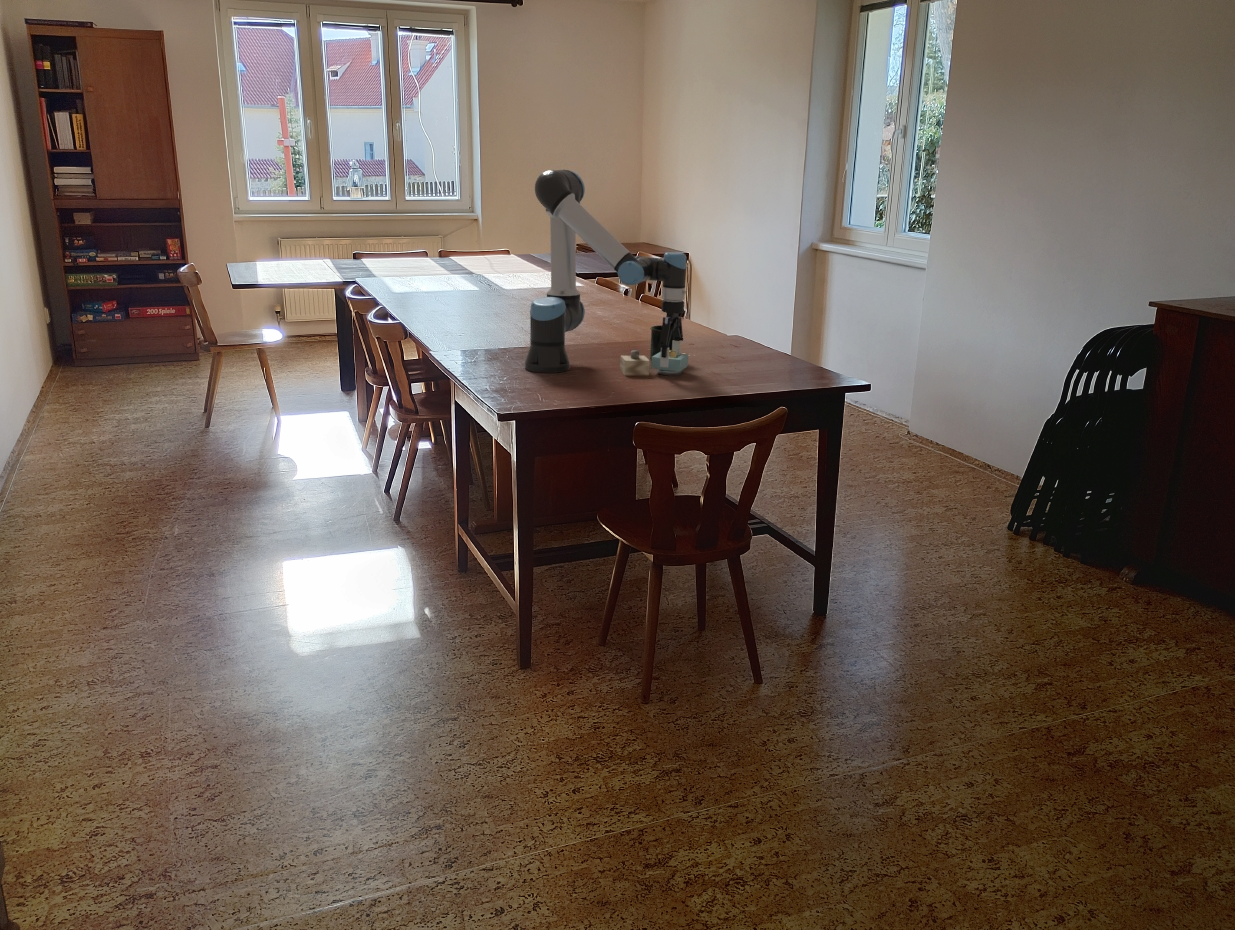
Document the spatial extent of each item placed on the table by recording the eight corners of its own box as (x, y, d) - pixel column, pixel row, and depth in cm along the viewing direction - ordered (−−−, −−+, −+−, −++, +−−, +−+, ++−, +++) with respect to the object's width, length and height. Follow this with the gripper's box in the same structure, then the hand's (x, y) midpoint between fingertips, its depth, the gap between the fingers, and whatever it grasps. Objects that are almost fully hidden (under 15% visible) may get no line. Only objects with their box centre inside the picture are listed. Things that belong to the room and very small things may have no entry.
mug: (658, 365, 333) (659, 331, 330) (639, 357, 346) (640, 324, 342) (684, 363, 338) (686, 330, 334) (665, 355, 350) (666, 323, 347)
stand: (624, 375, 316) (625, 353, 314) (620, 369, 324) (620, 348, 322) (649, 375, 318) (650, 353, 315) (644, 369, 325) (644, 348, 323)
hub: (660, 375, 317) (661, 353, 315) (655, 370, 325) (656, 349, 323) (683, 375, 319) (684, 353, 316) (678, 370, 326) (679, 348, 324)
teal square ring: (651, 368, 318) (651, 356, 317) (660, 363, 327) (660, 351, 326) (679, 371, 315) (680, 359, 314) (687, 366, 324) (688, 354, 323)
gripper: (673, 306, 302) (669, 371, 309) (694, 296, 324) (690, 357, 331) (651, 304, 304) (648, 368, 311) (673, 294, 326) (670, 355, 333)
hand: (669, 363), depth 321 cm, fingers open, 13 cm apart
